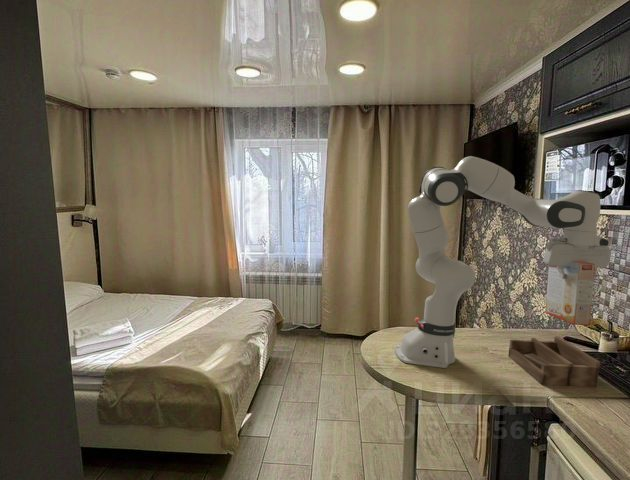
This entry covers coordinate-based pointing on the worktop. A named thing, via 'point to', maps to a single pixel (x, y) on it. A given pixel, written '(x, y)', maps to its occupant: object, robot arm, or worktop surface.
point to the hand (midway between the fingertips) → (573, 278)
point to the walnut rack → (556, 362)
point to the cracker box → (571, 293)
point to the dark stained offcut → (536, 360)
